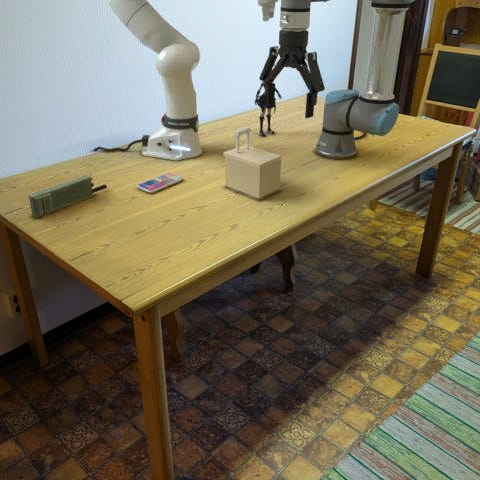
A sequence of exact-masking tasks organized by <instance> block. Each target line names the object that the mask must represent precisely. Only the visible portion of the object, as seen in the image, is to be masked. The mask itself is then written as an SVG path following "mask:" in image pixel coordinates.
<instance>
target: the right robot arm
mask: <svg viewBox="0 0 480 480" xmlns="http://www.w3.org/2000/svg"><path fill="white" fill-rule="evenodd" d="M330 1H331V0H280V11H279V28H280V30H279V31H278V45H279V46H278V45H275V46H274V45H273V46H270V47H269V52H268V57H267V59H266V61H265V63H264V66H263V68H262V70H261V72H260V75H259V81H261V82H262V81H264V83H265V89H264V91H265V95H267V96H266V110H267V109H269V108H272V107H273V108H274V100H275V99H276V92H275V88H276V83H275V80H276V79H277V77H278V76H279V75H280V73H281V72H282V71H283V70H284V68H290V69H296V71H297V72H299V74H300V76H301V78H302V81H303V82H304V84H305V86H306V88H307V89H308V91H309V92H306V98H305V99H306V100H305V101H306V102H305V111H304V118H305V119H310V118H313V117H314V112H315V106H316V105H317V103H318V94H319V93H321V92H324V91H325V90H326V88H325V84H324V80H323V77H322V74H321V70H320V66H319V64H318V53H317V51H311V52H307V47H308V45H309V33H310V32H309V31H308V30H309V28H310V23H311V21H310V20H311V5H312V3H319V2H320V3H322V2H323V3H327V2H330ZM370 1H371V2H370V9H371V10H372V11H373V12H374V16H373V17H374V18H373V25H372V33H371V40H370V47H369V55H368V62H367V70H366V79H365V85H364V86H365V87H364V89H363V91H361V92H360V91H358V90H356V89H337V90H333V91H329V92H328V93H326V95H325V98H324V103H323V105H324V107H323V117H322V129H321V133H320V136H319V138H318V140H317V143H316V145H315V153H316V154H317V156H320V157H323V158H326V159H330V160H331V159H332V160H348V159H352V158H354V157H356V155H357V144H356V140H358V139H362V138H364V137H365V136H366V135H367V134H368V135H370V136H379V137H384V136H386V135H388V134H389V133H390V132H391V131H392V130H393V129H394V126H395V125H396V123H397V121H398V118H399V114H400V105H399V104H397V102H395V94H394V93H393V92H392V87H393V80H394V72H395V66H396V60H397V54H398V47H399V42H400V41H399V40H400V35H401V28H402V21H403V15H404V13H406V12H407V11H408V10H409V8H410V4H412V3H413V2H415V1H416V0H370ZM278 56H279V59H278ZM277 59H278V61H277ZM276 61H277V62H276ZM274 64H275V65H276V66H274ZM271 70H272V71H271ZM272 82H273V83H272ZM359 92H360V93H359ZM275 101H276V100H275ZM273 108H272V109H273ZM355 131H356V132H360V133H363V134H362V135H359V136H356V137H355V133H354V132H355Z"/></svg>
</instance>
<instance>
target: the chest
mask: <svg viewBox="0 0 480 480" xmlns="http://www.w3.org/2000/svg"><path fill="white" fill-rule="evenodd" d="M281 172H282V159H281V160H280V161H277V162H275V163H272V164H270V165H267V166H265V167H262V168H257V167H254V166H251V165H249V164H246V163H243V162H240V161H237V160H234V159H231V158H228V157H225V156H224V188H226V189H228V190H230V191H233V192H236V193H238V194H241V195H244V196H246V197H248V198H251V199H254V200H256V201H262V200H263V199H266V198H269V197H270V196H273V195H274V194H277V193H279V192H280V191H281V174H282V173H281Z"/></svg>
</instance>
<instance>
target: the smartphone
mask: <svg viewBox="0 0 480 480" xmlns="http://www.w3.org/2000/svg"><path fill="white" fill-rule="evenodd" d="M182 181H184V177H183V176H180V175H179V174H174V173H172V172H166V173H163V174H161V175H159V176H156V177H154V178H151V179H149V180H146V181H143V182H141V183H138V184H137V185H136V188H137V189H139V190H141V191H143V192H145V193H148V194H154V193H156V192H158V191H160V190H161V191H162V190H164V189H166V188H168V187H170V186H172V185H175V184H177V183H180V182H182Z"/></svg>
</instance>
